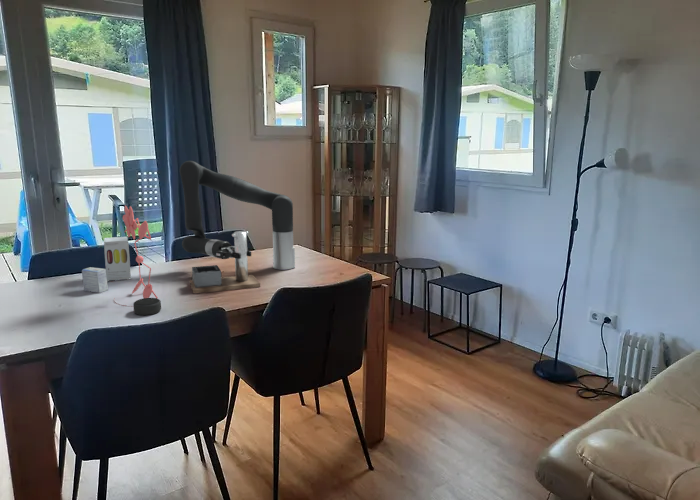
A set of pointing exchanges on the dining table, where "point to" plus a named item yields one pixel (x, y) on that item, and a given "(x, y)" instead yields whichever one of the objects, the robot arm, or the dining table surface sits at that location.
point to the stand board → (228, 285)
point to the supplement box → (117, 258)
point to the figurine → (130, 229)
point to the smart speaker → (147, 306)
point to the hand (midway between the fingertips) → (245, 255)
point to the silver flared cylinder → (241, 248)
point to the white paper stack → (94, 279)
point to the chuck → (206, 276)
